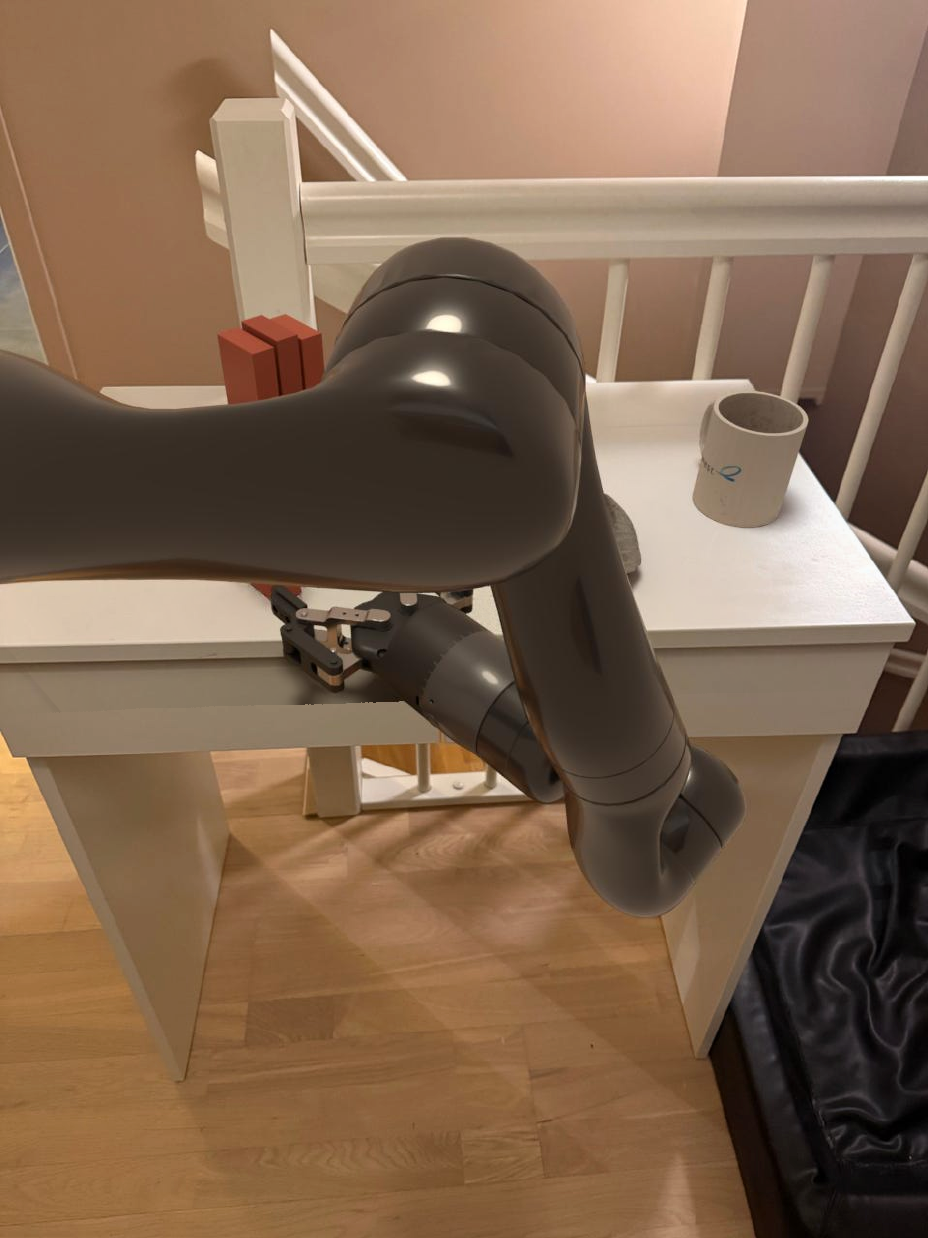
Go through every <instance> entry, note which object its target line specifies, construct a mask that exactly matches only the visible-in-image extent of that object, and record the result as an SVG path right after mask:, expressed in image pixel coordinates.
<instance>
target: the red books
mask: <svg viewBox="0 0 928 1238" xmlns="http://www.w3.org/2000/svg"><path fill="white" fill-rule="evenodd" d="M240 324H241V328H240V327H239V326H238V327H234V328H231V329H228V330H225V331H222V332H219V333H218V332H217V333H216V335H217V342H218V350H219V356H220V361H221V369H222V375H223V381H224V388H225V394H226V395H225V396H226V401H227V404H238V403H245V402H251V401H258V400H264V399H270V398H274V397H279V396H284V395H288V394H293V393H297V392H300V391H303V390H306V389H309V388H312V387H314V386H316V385H318V384H320V381H321V378H322V376H323V373H324V371H325V360H324V348H323V347H324V346H323V334H322V332H321V331H319V330H317V329H315V328H314V327H311V326H309V325H307V324H306V323H303V322H301V321H300V320H298V319H296V318H294V317H292V316H290V315H288V314H286V313H284V314H281V315H278V316H275V317H272V318H268V317H266V316H265V315H262V314H260V315H257V316H254V317H251V318H247V319H244V320H240Z"/></svg>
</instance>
